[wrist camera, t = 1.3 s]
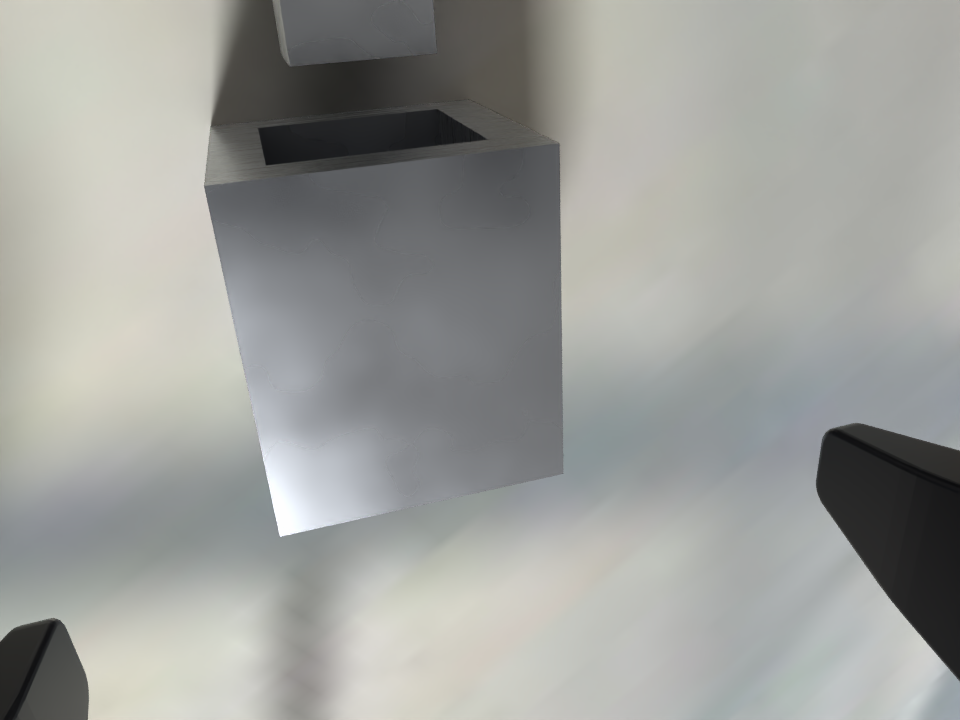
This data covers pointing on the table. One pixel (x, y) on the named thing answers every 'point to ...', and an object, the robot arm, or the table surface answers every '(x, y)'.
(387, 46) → the grey l-shaped piece
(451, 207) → the socket
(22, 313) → the table surface
